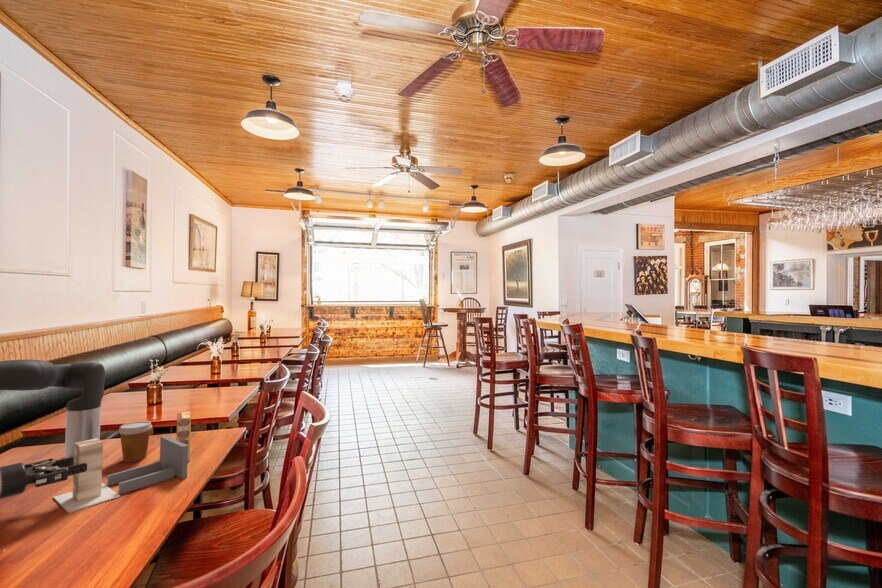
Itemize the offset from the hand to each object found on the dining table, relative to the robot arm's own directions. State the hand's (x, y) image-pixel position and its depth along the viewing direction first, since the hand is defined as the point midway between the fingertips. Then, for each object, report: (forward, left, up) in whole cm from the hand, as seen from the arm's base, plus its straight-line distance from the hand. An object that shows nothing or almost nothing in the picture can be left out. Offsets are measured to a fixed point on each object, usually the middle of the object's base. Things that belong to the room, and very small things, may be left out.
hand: (81, 463), depth 113 cm
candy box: (-10, +31, -10) cm, 34 cm away
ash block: (0, +2, -10) cm, 10 cm away
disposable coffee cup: (-23, +21, -10) cm, 33 cm away
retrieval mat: (0, +2, -10) cm, 10 cm away
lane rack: (0, +16, -10) cm, 19 cm away
